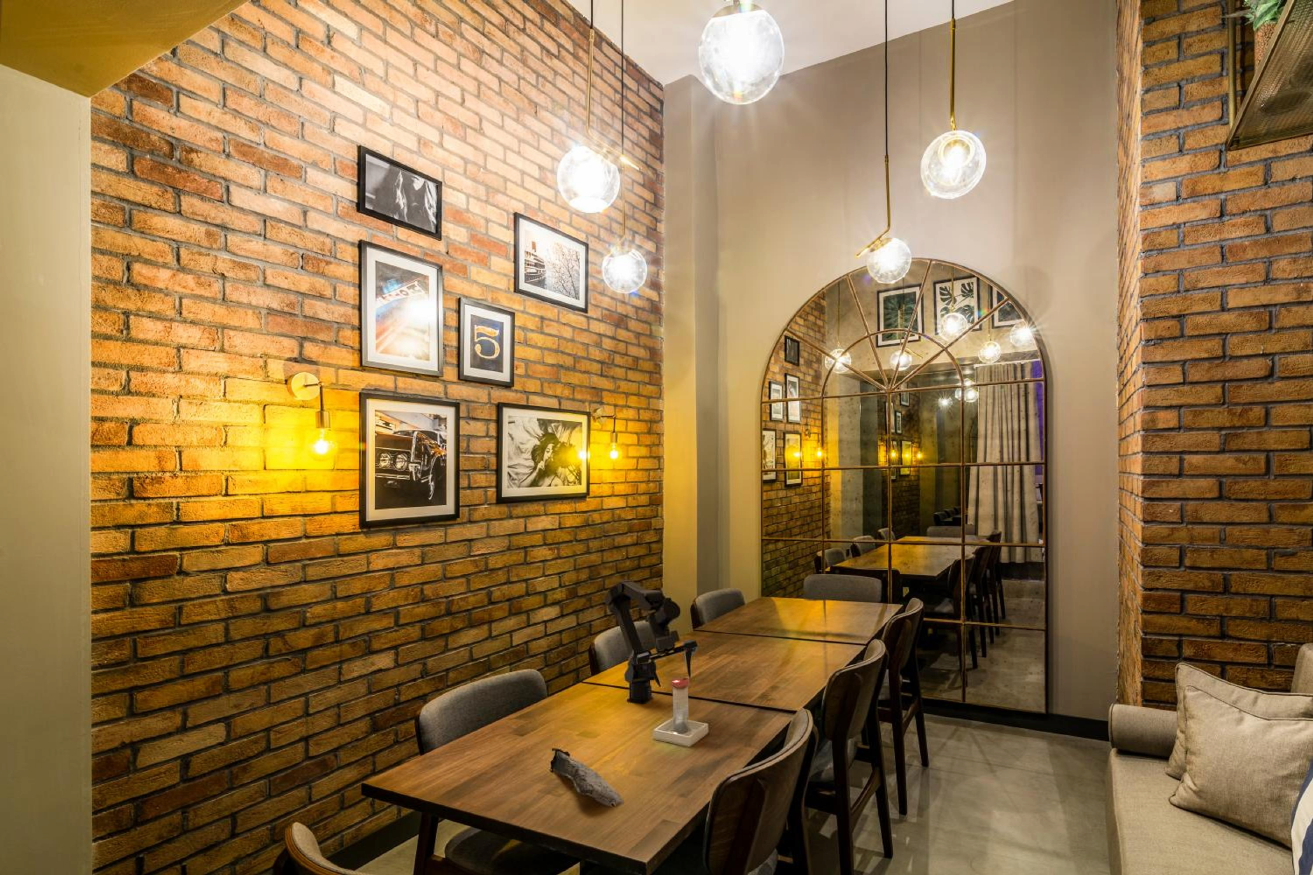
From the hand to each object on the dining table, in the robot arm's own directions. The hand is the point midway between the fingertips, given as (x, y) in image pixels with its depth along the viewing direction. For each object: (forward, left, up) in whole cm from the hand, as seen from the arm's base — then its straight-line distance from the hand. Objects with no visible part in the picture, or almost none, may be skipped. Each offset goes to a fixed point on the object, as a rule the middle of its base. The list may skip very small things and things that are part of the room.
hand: (675, 682), depth 197 cm
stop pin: (+7, -9, -11) cm, 16 cm away
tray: (+7, -9, -11) cm, 16 cm away
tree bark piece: (0, -45, -12) cm, 47 cm away
